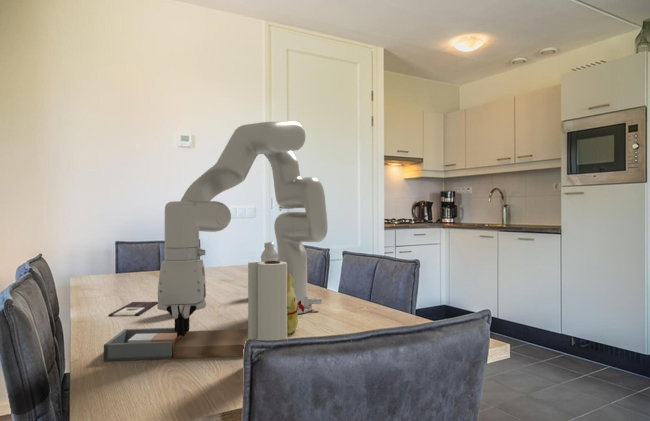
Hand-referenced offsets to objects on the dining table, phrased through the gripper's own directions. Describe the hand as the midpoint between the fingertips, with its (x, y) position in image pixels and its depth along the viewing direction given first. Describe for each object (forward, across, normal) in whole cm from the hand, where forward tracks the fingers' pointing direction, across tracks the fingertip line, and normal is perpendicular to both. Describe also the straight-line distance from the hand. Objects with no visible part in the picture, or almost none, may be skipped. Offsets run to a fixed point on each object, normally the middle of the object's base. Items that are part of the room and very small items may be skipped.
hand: (182, 334), depth 97 cm
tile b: (+3, +9, 0) cm, 9 cm away
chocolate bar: (+4, +24, -43) cm, 50 cm away
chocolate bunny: (+4, -26, -13) cm, 29 cm away
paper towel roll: (+4, -20, +12) cm, 24 cm away
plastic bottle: (+4, -18, -61) cm, 64 cm away
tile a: (+3, +4, 0) cm, 5 cm away
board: (+4, -8, 0) cm, 8 cm away
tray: (+4, +8, 0) cm, 9 cm away
